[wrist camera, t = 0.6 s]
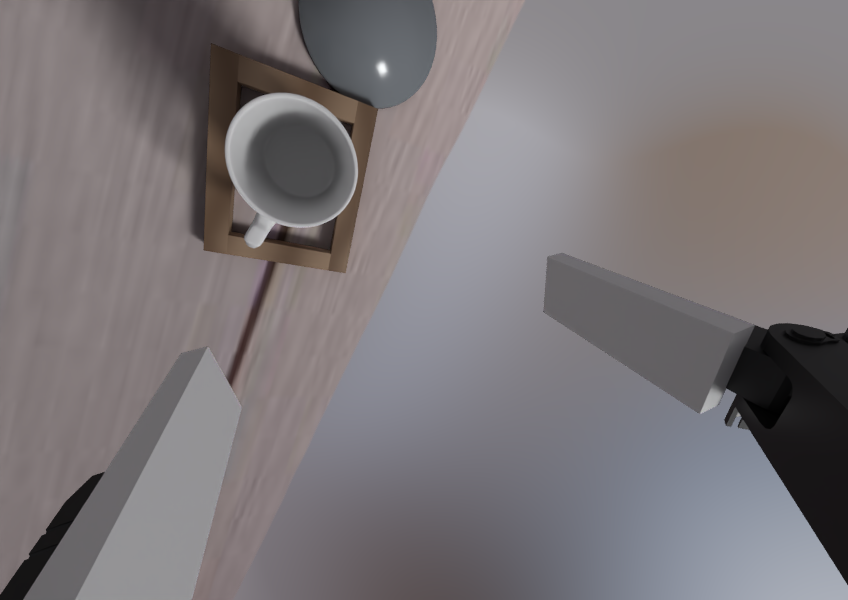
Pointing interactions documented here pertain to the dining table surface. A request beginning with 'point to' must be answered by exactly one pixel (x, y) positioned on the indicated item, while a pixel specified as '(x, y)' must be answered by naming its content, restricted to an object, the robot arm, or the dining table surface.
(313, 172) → the mug
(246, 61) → the holder
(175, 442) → the robot arm
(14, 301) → the dining table surface
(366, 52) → the coaster
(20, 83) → the dining table surface
